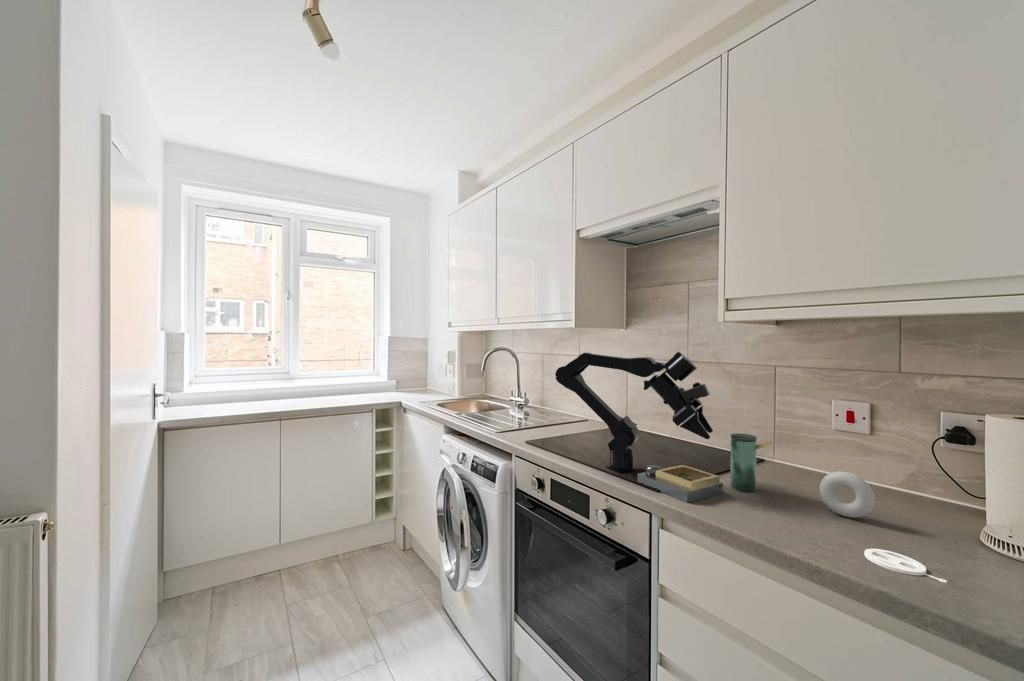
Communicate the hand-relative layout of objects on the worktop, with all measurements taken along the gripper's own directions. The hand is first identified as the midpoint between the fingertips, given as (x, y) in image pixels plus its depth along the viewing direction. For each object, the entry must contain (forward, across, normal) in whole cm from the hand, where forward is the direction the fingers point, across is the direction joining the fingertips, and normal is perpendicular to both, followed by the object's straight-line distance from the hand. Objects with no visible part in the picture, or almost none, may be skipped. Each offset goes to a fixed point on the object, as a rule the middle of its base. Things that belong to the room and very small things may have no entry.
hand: (710, 435), depth 116 cm
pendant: (+33, -30, -14) cm, 47 cm away
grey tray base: (+5, -8, +14) cm, 17 cm away
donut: (+30, -8, -11) cm, 33 cm away
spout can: (+16, 0, +2) cm, 16 cm away
